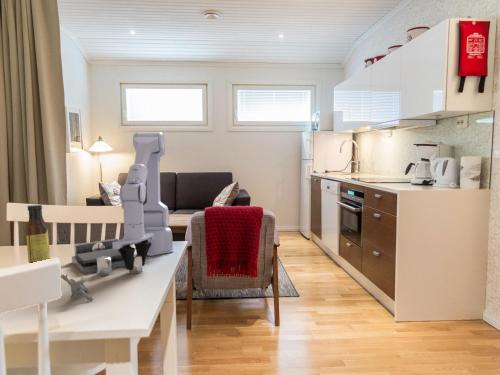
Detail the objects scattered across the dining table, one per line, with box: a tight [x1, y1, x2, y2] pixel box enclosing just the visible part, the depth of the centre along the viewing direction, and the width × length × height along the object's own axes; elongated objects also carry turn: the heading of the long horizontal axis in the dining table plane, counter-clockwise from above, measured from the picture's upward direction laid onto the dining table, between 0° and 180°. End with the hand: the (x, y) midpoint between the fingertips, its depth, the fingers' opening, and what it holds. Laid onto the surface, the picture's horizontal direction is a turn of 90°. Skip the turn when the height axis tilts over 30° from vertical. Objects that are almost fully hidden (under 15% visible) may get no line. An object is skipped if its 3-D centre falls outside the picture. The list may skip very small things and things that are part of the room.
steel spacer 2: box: [128, 253, 143, 275], centre depth 109 cm, size 4×4×5 cm
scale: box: [71, 238, 126, 275], centre depth 118 cm, size 16×16×6 cm
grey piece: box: [60, 273, 94, 302], centre depth 89 cm, size 10×6×9 cm
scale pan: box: [77, 249, 122, 264], centre depth 116 cm, size 15×10×1 cm, turn 128°
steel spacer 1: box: [96, 256, 113, 277], centre depth 107 cm, size 4×4×5 cm
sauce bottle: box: [25, 203, 51, 264], centre depth 117 cm, size 7×6×20 cm
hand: (135, 267), depth 109 cm, fingers closed on steel spacer 2, 4 cm apart
